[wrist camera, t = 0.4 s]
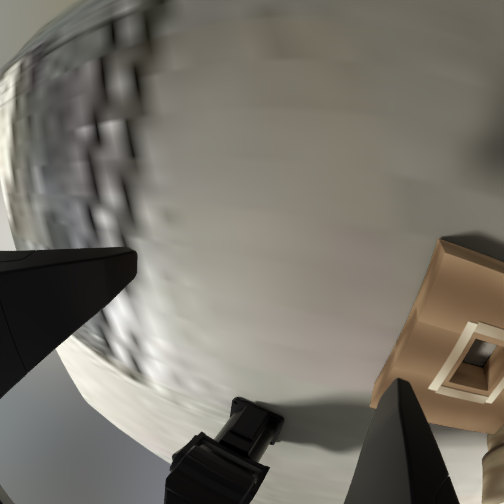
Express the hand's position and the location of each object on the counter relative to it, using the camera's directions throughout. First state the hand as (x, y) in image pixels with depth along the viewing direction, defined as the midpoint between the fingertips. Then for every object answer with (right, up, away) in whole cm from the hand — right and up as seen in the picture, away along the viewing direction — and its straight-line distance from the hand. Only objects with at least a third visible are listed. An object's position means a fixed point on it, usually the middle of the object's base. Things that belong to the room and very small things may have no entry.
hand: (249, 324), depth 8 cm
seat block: (+18, -5, +9) cm, 21 cm away
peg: (+27, -17, +10) cm, 33 cm away
